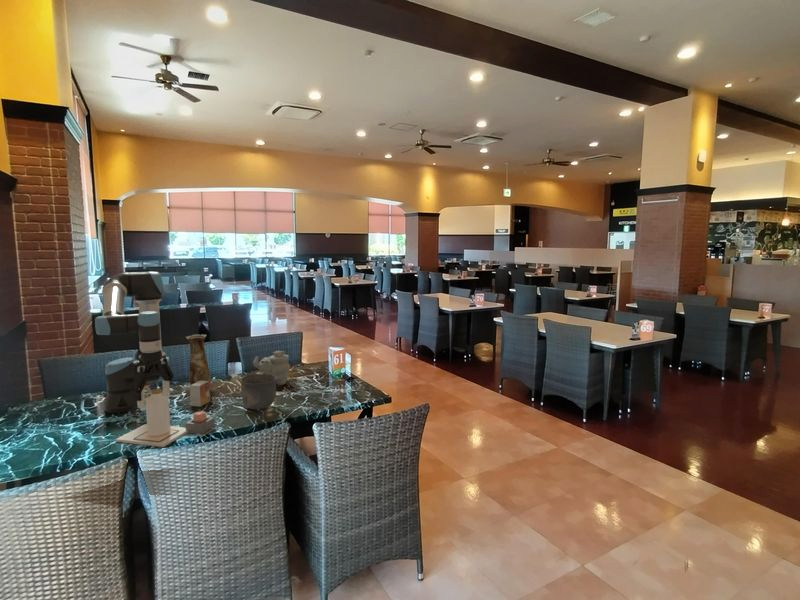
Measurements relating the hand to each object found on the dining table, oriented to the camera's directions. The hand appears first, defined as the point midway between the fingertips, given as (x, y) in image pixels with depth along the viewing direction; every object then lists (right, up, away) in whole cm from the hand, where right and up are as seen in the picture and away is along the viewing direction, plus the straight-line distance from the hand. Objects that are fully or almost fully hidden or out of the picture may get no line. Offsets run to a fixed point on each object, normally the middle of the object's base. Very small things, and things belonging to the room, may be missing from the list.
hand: (154, 401), depth 181 cm
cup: (+32, -11, +34) cm, 48 cm away
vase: (-8, -8, +59) cm, 60 cm away
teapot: (+27, -6, +73) cm, 78 cm away
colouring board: (-2, -15, +3) cm, 15 cm away
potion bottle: (0, -14, +3) cm, 14 cm away
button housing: (+14, -14, +9) cm, 22 cm away
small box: (+1, -10, +40) cm, 41 cm away
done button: (+14, -11, +9) cm, 20 cm away
